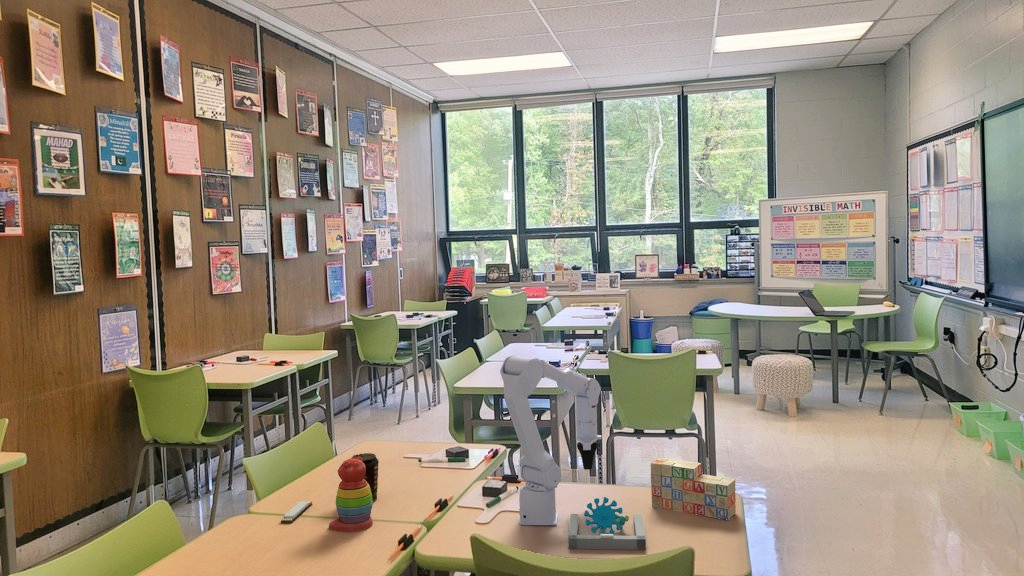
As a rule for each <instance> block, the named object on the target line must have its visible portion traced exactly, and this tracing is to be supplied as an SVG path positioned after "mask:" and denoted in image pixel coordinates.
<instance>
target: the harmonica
mask: <svg viewBox="0 0 1024 576" xmlns="http://www.w3.org/2000/svg"><path fill="white" fill-rule="evenodd" d="M312 506H313V502H312V501H308V500H307V501H305V500H303V501H302V500H300V501H299V502H297V503H296V504H295V505H294V506H293V507H292V508H290V510H288V511H287V512H286V513H284V515H283V518H282V519H281V520H280V524H284V525H288V524H293V523H294V522H295V521H297V519H299V517H301V516H302V515H303V514H304V513H305V512H306V511H307V510H308V509H310V508H311V507H312Z"/></svg>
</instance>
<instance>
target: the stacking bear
mask: <svg viewBox="0 0 1024 576" xmlns="http://www.w3.org/2000/svg"><path fill="white" fill-rule="evenodd" d="M351 458H352V457H351ZM351 458H347V459H346V460H344V461H343V462H342V463H341V464H340V466H339V467H338V469H337V474H338V476H339V478H340V480H341V481H340V482H339V484H338V487H337V491H336V495H335V505H336V507H335V508H336V512H337V517H338V518H336V519H334V520H333V519H332V521H330V522H329V524H328V529H329V530H330V531H334V532H340V533H355V532H357V533H358V532H362V531H365V530H368V529H369V528H371V527H372V525H373V522H374V521H373V518H372V516H371V514H372V509H373V503H374V502H373V501H372V493H371V490H370V486H369V484H368V483H367V481H366V480H365V479H363V478H364V476H365V472H366V467H365V464H364V463H363V462H362V461H363V460H362V458H361V457H358V458H357V459H355V458H352V459H351Z"/></svg>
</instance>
